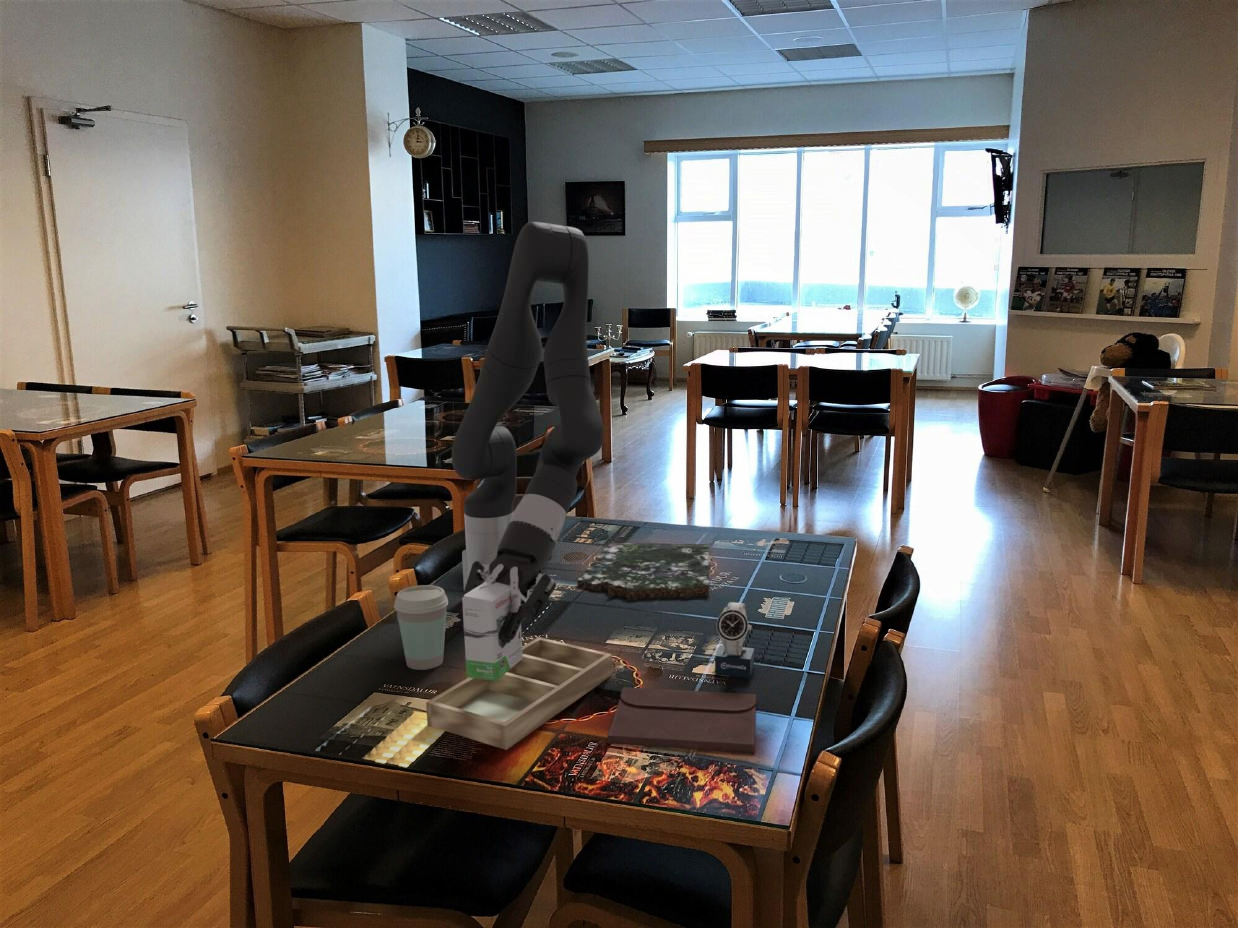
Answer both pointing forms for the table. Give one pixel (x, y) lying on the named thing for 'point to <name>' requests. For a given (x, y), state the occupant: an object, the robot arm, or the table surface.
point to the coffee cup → (422, 625)
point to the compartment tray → (520, 693)
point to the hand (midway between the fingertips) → (485, 635)
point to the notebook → (685, 720)
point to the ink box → (488, 632)
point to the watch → (733, 643)
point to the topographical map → (650, 571)
